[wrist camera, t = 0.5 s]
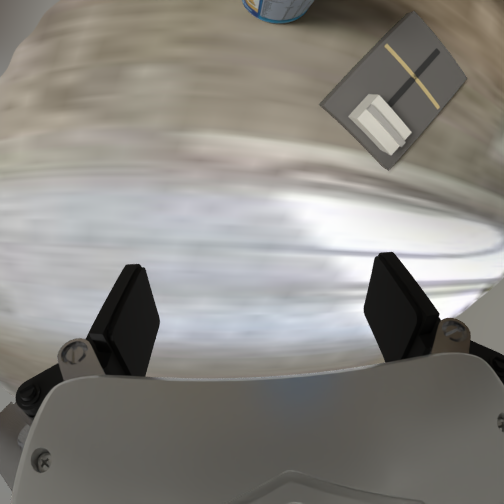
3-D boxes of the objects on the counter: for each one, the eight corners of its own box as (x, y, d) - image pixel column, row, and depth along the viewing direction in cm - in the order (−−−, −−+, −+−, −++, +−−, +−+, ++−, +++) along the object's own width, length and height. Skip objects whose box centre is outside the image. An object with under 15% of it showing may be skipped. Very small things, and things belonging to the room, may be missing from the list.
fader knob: (368, 94, 28) (380, 94, 25) (399, 128, 30) (413, 133, 27) (347, 116, 30) (358, 119, 27) (380, 150, 32) (393, 156, 29)
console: (406, 13, 23) (414, 10, 22) (458, 77, 27) (467, 78, 26) (319, 104, 31) (323, 105, 29) (382, 166, 35) (388, 170, 33)
